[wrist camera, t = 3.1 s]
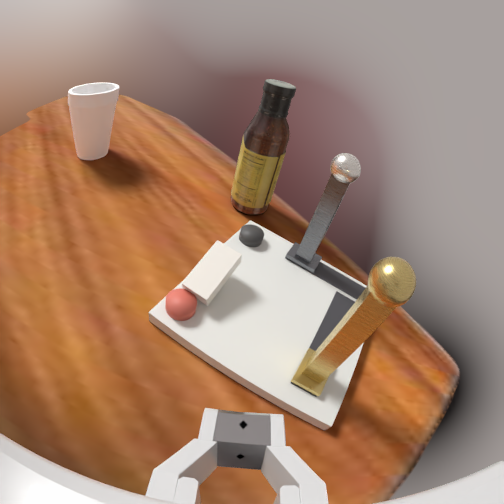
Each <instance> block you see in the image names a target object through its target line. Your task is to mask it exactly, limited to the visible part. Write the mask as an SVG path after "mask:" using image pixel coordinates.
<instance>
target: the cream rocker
mask: <svg viewBox="0 0 504 504" xmlns="http://www.w3.org/2000/svg"><path fill="white" fill-rule="evenodd" d="M241 257H242V254H240V253H238V252H237V251H235V250H233V249H232V248H230V247H228V246H226V245H225V244H223V243H221V242H220V241H218V240H217V241H216V243H215V244H214V245H213V246H212V247H211V249H210V250H209V251H208V252H207V253H206V254H205V256H204V257H203V258H202V259H201V260H200V262H199V263H198V264H197V265H196V266H195V268H194V269H193V270H192V271H191V272H190V274H189V275H188V276H187V277H186V278H185V280H184V281H183V282H182V287H183V289H187V290H188V291H190V292H191V293H193V294H194V295H195V297H196V299H198V300H199V301H201V302H202V303H204V304H205V305H207V306H208V305H209V304H210V302H211V301H212V300H213V298H214V297H215V296H216V294H217V293H218V292H219V291H220V289H221V288H222V287H223V285H224V284H225V283H226V281H227V280H228V279H229V277H230V276H231V275H232V273H233V272H234V271H235V270H236V268H237V267H238V266H239V264H240V263H241Z"/></svg>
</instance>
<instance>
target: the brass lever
mask: <svg viewBox="0 0 504 504" xmlns="http://www.w3.org/2000/svg"><path fill="white" fill-rule="evenodd" d="M415 287H416V276H415V273H414V270H413V269H412V267H411V265H410V264H409V263H408V262H406V261H405V260H403V259H401V258H398V257H387V258H384V259H382V260H380V261H378V262H377V263H376V264H375V265H374V267H373V268H372V269H371V271H370V274H369V277H368V286H367V287H366V288H365V290H364V291H363V292H362V294H361V295H360V296H359V298H358V299H357V300H356V302H355V303H354V304H353V305H352V307H351V308H350V309H349V311H348V312H347V313H346V314H345V316H344V317H343V318H342V320H341V321H340V322H339V323H338V325H337V326H336V327H335V328H334V329H333V331H332V332H331V333H330V334H329V336H328V337H327V338H326V339H325V340H324V342H323V343H322V344H321V345H320V346H319V347H318V349H317V350H316V351H314V350H312V349H311V348H308V350H307V351H306V353H305V355H304V357H303V359H302V361H301V363H300V365H299V367H298V368H297V370H296V372H295V374H294V376H293V378H292V379H291V382H293V383H295V384H296V385H298V386H300V387H302V388H304V389H305V390H307V391H309V392H311V393H313V394H315V395H316V396H320V395H321V393H322V391H323V388H324V386H325V384H326V382H327V380H328V377H329V375H330V374H331V373H332V372H334V371H335V370H336V369H337V368H338V367H339V366H340V365H341V364H342V363H343V362H344V361H345V360H346V359H347V358H348V357H349V356H350V355H351V354H352V353H353V352H354V351H355V350H357V349H358V348H359V347H360V346H361V345H362V343H363V342H364V341H365V340H366V339H367V338H368V337H369V336H370V335H371V334H372V333H373V332H374V331H375V330H376V329H377V328H378V327H379V326H380V325H381V324H382V323H383V321H384V320H385V319H386V318H387V317H388V316H389V315H390V314H391V313H392V312H393V310H394V309H395V308H396V307H398V306H401V305H403V304H405V303H406V302H407V301H408V300H409V299H410V298H411V297H412V295H413V293H414V290H415Z"/></svg>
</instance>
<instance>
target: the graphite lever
mask: <svg viewBox="0 0 504 504" xmlns="http://www.w3.org/2000/svg"><path fill="white" fill-rule="evenodd" d="M330 168H331V173H332V174H331V177H330V179H329V181H328V184H327V186H326V188H325V190H324V193H323V195H322V197H321V200H320V202H319V204H318V206H317V209H316V211H315V213H314V215H313V218H312V220H311V222H310V224H309V226H308V229H307V231H306V233H305V235H304V237H303V240H302V242H301V244H298V243H296V242H295V243H294V245H293V246H292V247H291V249H290V250H289V251H288V253H287V254H286V256H285V257H286V258H288V259H290V260H292V261H293V262H295V263H297V264H299V265H300V266H302V267H304V268H306V269H307V270H309V271H311V272H314V271H315V269H316V267H317V266H318V264H319V262H320V260H321V259H322V257H321V256H319V255H317V254H316V251H317V249H318V247H319V245H320V243H321V241H322V239H323V237H324V235H325V233H326V231H327V229H328V227H329V225H330V223H331V221H332V219H333V217H334V215H335V213H336V211H337V209H338V207H339V205H340V203H341V201H342V199H343V197H344V195H345V193H346V190H347V188H348V186H349V184H350V183H352V182H354V181H355V180H356V179H357V178H358V177H359V175H360V172H361V166H360V163H359V161H358V159H357V158H356V157H355V156H353V155H351V154H348V153H342V154H339V155H337V156H336V157H335V158H334V159H333V160H332V162H331V167H330Z"/></svg>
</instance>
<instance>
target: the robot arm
mask: <svg viewBox="0 0 504 504" xmlns="http://www.w3.org/2000/svg"><path fill="white" fill-rule="evenodd" d="M217 466H221V467H234V468H246V469H258V470H261V472H262V473H263V475H264V476H265V477H266V479H267V480H268V482H269V483H270V485H271V486H272V487H273V489H274V490H275V492H276V493H277V497H276V499H275V501H274V504H328V497H327V491H326V484H325V483H324V482H323V481H322V480H321V479H320V478H319V477H318V476H317V475H316V473H315V472H314V471H313V470H312V469H311V468H310V467H309V466H308V465H307V464H306V463H305V462H304V461H303V460H302V459H301V458H300V457H299V456H298V455H297V454H296V453H295V452H294V450H293V449H292V448H291V447H290V446H286V440H285V426H284V416H283V414H264V413H247V412H244V413H243V412H234V411H226V410H218V409H211V408H205V410H204V413H203V418H202V423H201V427H200V432H199V437H198V439H193V440H192V441H191V442H189V443H188V444H187V445H186V446H184V447H183V448H182V449H180V450H179V451H178V452H176V453H175V454H174V455H173V456H171V457H170V458H169V459H167V460H166V461H165V462H163V463H162V464H160V465H159V466H158V467H156V468H155V469H154V470H153V473H152V476H151V479H150V482H149V486H148V489H147V492H146V495H145V496H144V495H140V494H137V493H133V492H129V491H126V490H123V489H120V488H116V487H113V486H110V485H107V484H104V483H102V482H99V481H96V480H93V479H91V478H88V477H86V476H83V475H81V474H78V473H76V472H73V471H71V470H69V469H66V468H64V467H62V466H60V465H58V464H55V463H53V462H51V461H49V460H47V459H45V458H43V457H41V456H39V455H37V454H35V453H34V452H32V451H30V450H28V449H26V448H24V447H23V446H21V445H19V444H17V443H16V442H14V441H12V440H11V439H9V438H7V437H6V436H4V435H3V434H1V433H0V504H201V500H200V491H199V485H200V484H201V483H202V482H203V481H204V480H205V479H206V478H207V477H208V476H209V475H210V474H211V473H212V472H213V471H214V470H215V469H216V468H217ZM374 504H504V461H500V462H497V463H495V464H493V465H491V466H489V467H487V468H485V469H483V470H480V471H478V472H476V473H473V474H471V475H468V476H466V477H464V478H461V479H458V480H456V481H453V482H451V483H448V484H445V485H442V486H439V487H436V488H433V489H430V490H427V491H423V492H420V493H417V494H413V495H409V496H405V497H401V498H398V499H393V500H389V501H384V502H379V503H374Z"/></svg>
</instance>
